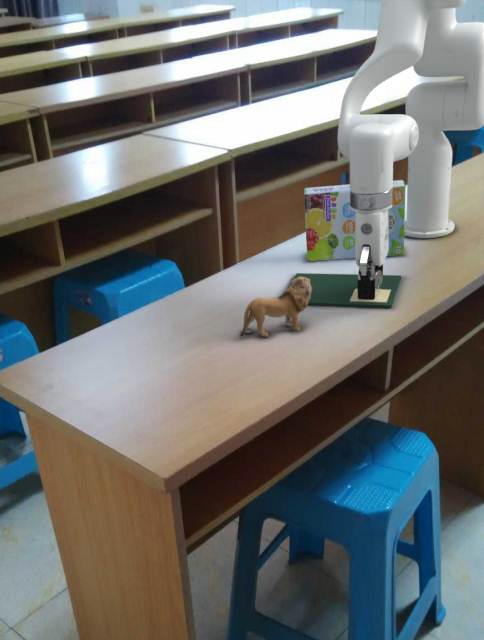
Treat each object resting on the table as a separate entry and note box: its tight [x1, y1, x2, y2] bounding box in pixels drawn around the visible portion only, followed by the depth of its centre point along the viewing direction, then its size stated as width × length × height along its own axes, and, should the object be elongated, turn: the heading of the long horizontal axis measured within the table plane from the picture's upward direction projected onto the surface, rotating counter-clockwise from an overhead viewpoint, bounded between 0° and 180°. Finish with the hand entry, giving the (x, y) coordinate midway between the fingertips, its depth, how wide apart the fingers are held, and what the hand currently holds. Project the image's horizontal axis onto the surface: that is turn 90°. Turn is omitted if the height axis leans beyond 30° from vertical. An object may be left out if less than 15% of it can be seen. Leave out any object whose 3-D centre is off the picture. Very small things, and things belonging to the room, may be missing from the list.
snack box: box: [303, 179, 407, 262], centre depth 156 cm, size 21×6×15 cm, turn 84°
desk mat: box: [285, 272, 402, 309], centre depth 144 cm, size 15×22×1 cm
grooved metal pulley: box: [369, 269, 384, 297], centre depth 138 cm, size 5×3×5 cm, turn 150°
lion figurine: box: [238, 277, 312, 338], centre depth 129 cm, size 15×5×9 cm, turn 110°
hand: (370, 288), depth 138 cm, fingers open, 9 cm apart
